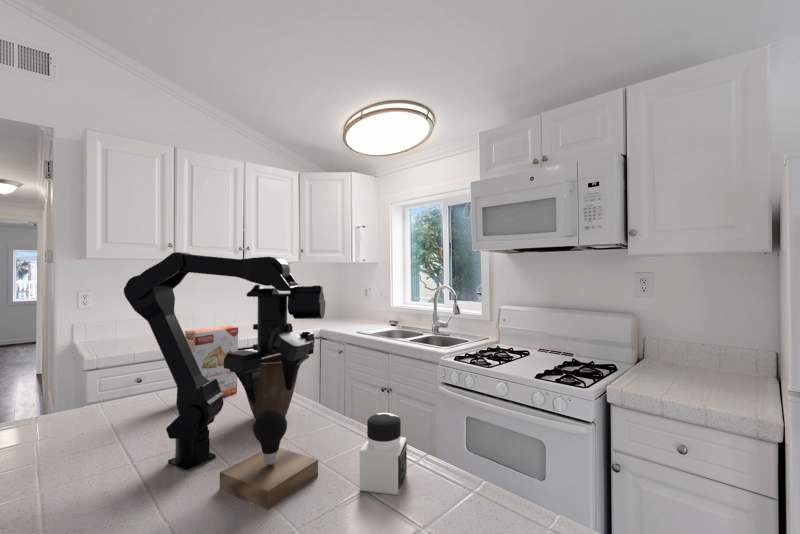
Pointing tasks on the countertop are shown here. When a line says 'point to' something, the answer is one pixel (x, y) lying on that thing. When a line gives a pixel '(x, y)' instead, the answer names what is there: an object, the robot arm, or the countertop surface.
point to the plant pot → (272, 388)
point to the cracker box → (215, 354)
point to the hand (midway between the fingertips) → (272, 396)
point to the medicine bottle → (383, 455)
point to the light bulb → (270, 433)
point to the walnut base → (268, 477)
